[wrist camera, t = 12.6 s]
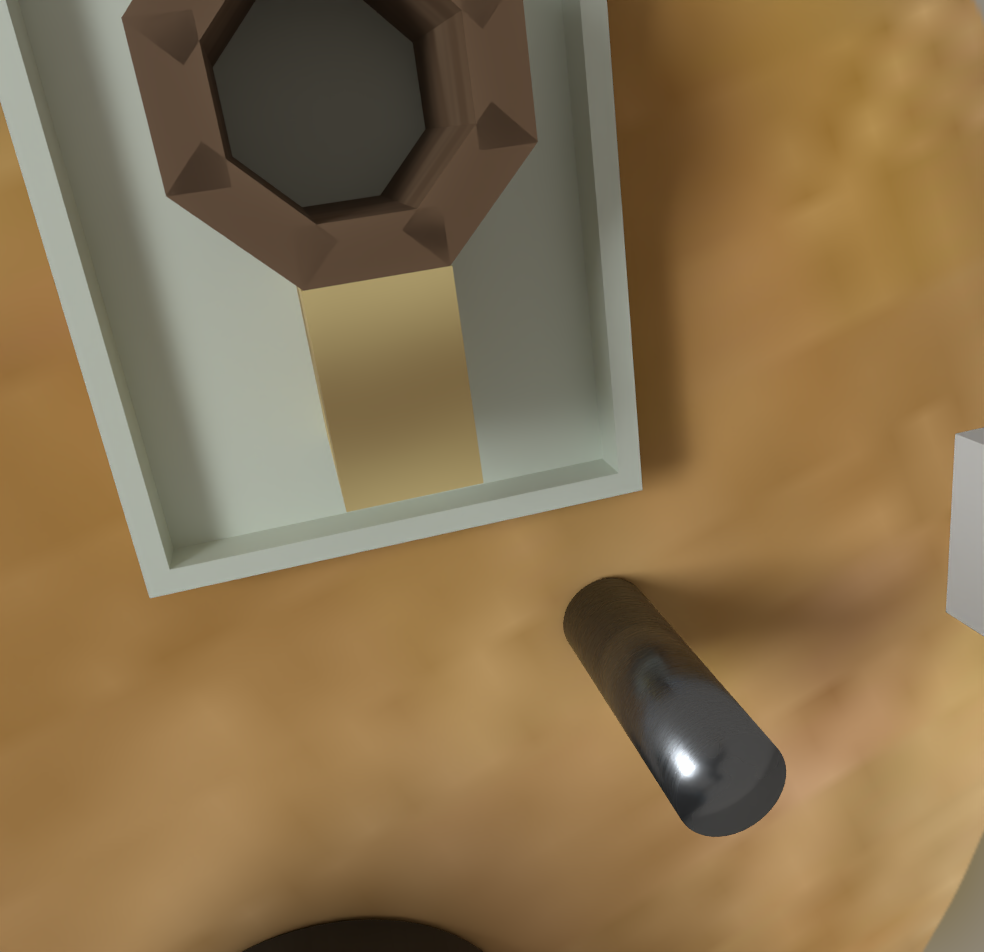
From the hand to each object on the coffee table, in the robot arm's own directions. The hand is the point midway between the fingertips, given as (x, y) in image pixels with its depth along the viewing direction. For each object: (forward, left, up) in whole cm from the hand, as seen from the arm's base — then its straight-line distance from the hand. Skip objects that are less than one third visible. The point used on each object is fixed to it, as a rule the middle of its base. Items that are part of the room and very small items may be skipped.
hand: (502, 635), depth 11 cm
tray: (+4, 0, -16) cm, 17 cm away
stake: (-10, -7, -16) cm, 20 cm away
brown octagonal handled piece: (+4, 0, -16) cm, 16 cm away
